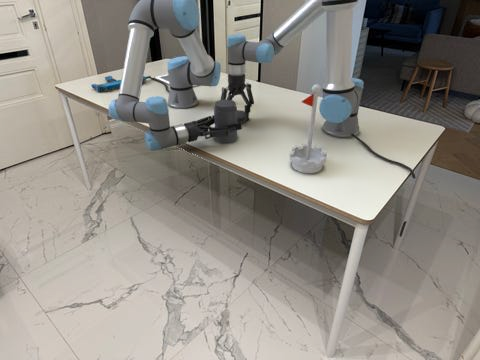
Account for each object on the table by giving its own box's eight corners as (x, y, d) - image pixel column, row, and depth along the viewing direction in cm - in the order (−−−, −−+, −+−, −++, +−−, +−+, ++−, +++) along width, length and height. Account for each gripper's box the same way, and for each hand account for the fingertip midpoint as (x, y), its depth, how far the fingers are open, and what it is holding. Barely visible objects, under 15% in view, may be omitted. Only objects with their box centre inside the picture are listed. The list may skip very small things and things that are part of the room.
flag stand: (312, 154, 131) (323, 76, 115) (332, 170, 121) (346, 88, 105) (282, 160, 128) (289, 80, 111) (300, 177, 117) (309, 93, 101)
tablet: (154, 77, 217) (153, 77, 217) (181, 71, 228) (180, 71, 228) (181, 89, 196) (181, 89, 196) (209, 82, 208) (209, 82, 207)
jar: (238, 133, 147) (238, 99, 139) (235, 143, 140) (235, 107, 131) (217, 132, 148) (215, 98, 140) (213, 142, 140) (211, 106, 132)
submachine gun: (137, 69, 223) (155, 75, 206) (138, 75, 225) (156, 81, 208) (84, 79, 204) (99, 87, 188) (85, 85, 206) (101, 94, 190)
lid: (232, 113, 163) (232, 108, 162) (251, 117, 159) (251, 112, 158) (221, 120, 156) (221, 115, 154) (241, 124, 152) (241, 120, 150)
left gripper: (176, 131, 143) (223, 120, 152) (197, 153, 127) (248, 139, 136) (174, 114, 139) (222, 104, 148) (196, 135, 123) (249, 122, 132)
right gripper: (254, 67, 153) (253, 114, 165) (209, 74, 144) (211, 123, 156) (263, 71, 148) (261, 119, 160) (216, 79, 138) (218, 129, 151)
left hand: (235, 121), depth 142 cm, fingers closed on jar, 9 cm apart
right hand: (236, 121), depth 158 cm, fingers closed on lid, 10 cm apart
